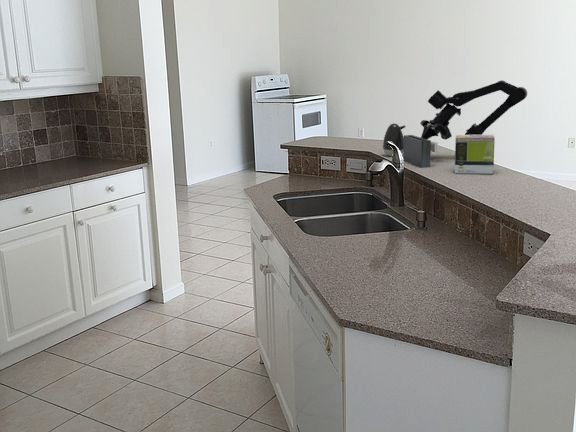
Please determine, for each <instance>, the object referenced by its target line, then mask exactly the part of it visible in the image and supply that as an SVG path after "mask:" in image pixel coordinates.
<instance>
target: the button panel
mask: <svg viewBox="0 0 576 432" xmlns="http://www.w3.org/2000/svg"><path fill="white" fill-rule="evenodd" d="M403 137H404V144H403V153H402V155H403V157H402V159H403V158H404V160H403V161H404V162H407V163H409V164H412V165H414V166H416V167H418V166H419V168H431V154H432V151H431V142H432V140H430V139H424V138H421V137H420V136H417V135H414V134H408V135H407V134H406V135H405V134H403Z"/></svg>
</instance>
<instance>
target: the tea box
mask: <svg viewBox="0 0 576 432" xmlns="http://www.w3.org/2000/svg"><path fill="white" fill-rule="evenodd" d="M454 144H455V146H454V147H455V149H454V150H455V151H454V174H476V175H477V174H478V175H479V174H480V175H481V174H486V175H489V174H491V175H493V174H494V166H495V165H494V164H495V163H494V162H495V136H494V134H482V135H465V134H456V135H455V143H454Z"/></svg>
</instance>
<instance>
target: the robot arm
mask: <svg viewBox="0 0 576 432" xmlns="http://www.w3.org/2000/svg"><path fill="white" fill-rule="evenodd" d="M499 91H501V92H502V93H504V94H506V95H508V96H507V97H506V99H505V100H504V102H502V104H500V105H499V106H498V107H497V108H496V109H495V110H493V111H492V112H491V113H490V114H489V115H487V117H486V118H484V120H482V121H481V122H480V123H478V124H476V123H473V124H472V125H471V126H470V127H469V128H467V129H466V130H465V134H464V135H484V133H485V132H486V130H487V129H488V128H489V127H491V126H492V124H493V123H495V122H496V121H497V120H499V118H501V117H502V116H503V115H504V114H505V113H506V112H508V110H510V109H511V108H512V107H514V106H516V105H517V104H519V103H520V102H522V101H524V100H525V99H526V98H527V97H528V90H527V89H526V88H525V87H523V86H519V87H518V86H515V85H513V84H511V83H508V82H507V81H505V80H503V79H502V80H499V81H497V82H494V83H492V84H488V85H486V86H482V87H480V88H477V89H474V90H468V91H462V92H457V93H454V94H453V96H448V97H447V96H445V95H444V94H443V93H442V92H441V91H440V90H436V92H435V93H433V95H431V96H430V97H429V98H428V100H427V103H429V104H430V105H431V107H433V108H434V109H435V110H440V112H436V113H435V117H433V119H429V120H427V119H423V120H421V122H420V125H421V126H422V127H423V129H422V133H421V138H424V139H427V140H430V139H431V138H432V137H439V134H440V138H441V139H443V140H448V139H451V138H452V133H451V130H450V128H449V125H450V121H451V120H452V118H454V116H455V115H458V116H459V117H461V114H462V112H461V111H462V108H461V107H462V106H464V105H466V104H467V103H469V102H471V101H473V100H475V99H477V98H481V97H483V96H486V95H490V94H493V93H496V92H499ZM458 107H460V108H458Z"/></svg>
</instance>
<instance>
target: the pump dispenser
mask: <svg viewBox="0 0 576 432" xmlns="http://www.w3.org/2000/svg"><path fill="white" fill-rule="evenodd" d="M405 128H406V125H400V126H399V124H398V123H391V124H389V125H388V127H387V129H386V131H385V135H384V137H383V142H382V150H383V152H384V154H385V155H386V156H387V157H391V158H393V157H392V154H393V150H392V148H391V147H390V146H388V145H386V141H392V142H393V143H394V144H395V145H396V146H397V147H398V148H399V150H400V151H401V153H402V154H403V144H404V133H403V131H402V130H403V129H405Z"/></svg>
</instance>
